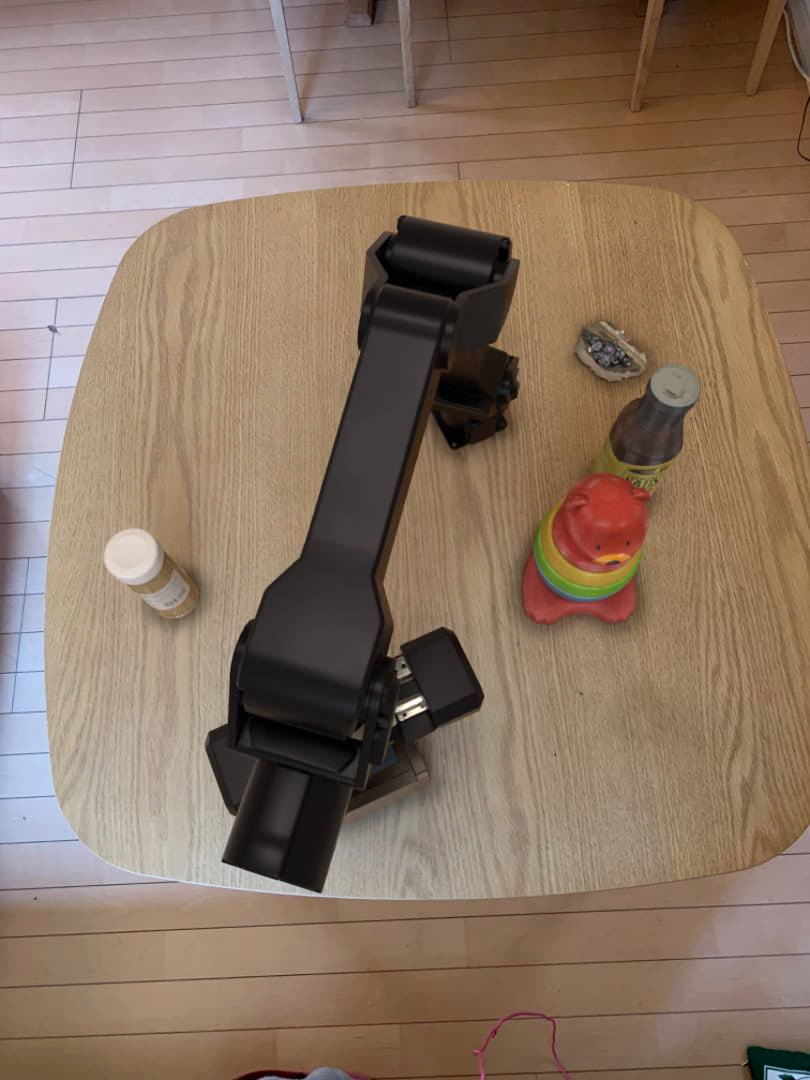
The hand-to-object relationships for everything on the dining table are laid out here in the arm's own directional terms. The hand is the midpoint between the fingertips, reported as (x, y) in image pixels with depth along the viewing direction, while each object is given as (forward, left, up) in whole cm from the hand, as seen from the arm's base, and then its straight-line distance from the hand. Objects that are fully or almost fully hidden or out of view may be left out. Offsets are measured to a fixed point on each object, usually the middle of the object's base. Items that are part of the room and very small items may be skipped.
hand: (356, 736), depth 66 cm
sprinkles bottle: (-21, -11, -11) cm, 26 cm away
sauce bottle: (-13, +33, -11) cm, 37 cm away
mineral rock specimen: (-27, +40, -11) cm, 50 cm away
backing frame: (0, 0, -11) cm, 11 cm away
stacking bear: (-7, +25, -11) cm, 28 cm away
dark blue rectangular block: (0, 0, -1) cm, 1 cm away
